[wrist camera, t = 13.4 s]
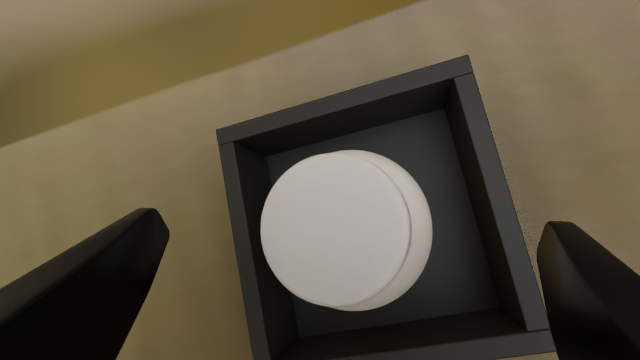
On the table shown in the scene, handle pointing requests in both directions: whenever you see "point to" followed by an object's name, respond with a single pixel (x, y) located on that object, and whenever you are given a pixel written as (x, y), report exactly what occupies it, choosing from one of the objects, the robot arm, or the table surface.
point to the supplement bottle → (346, 230)
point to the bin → (446, 213)
